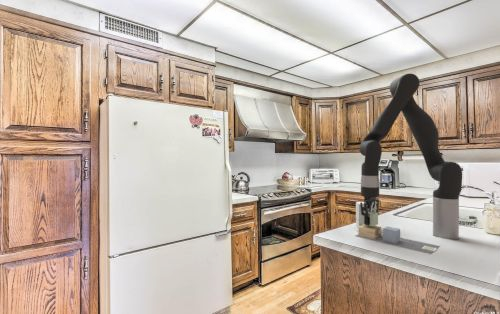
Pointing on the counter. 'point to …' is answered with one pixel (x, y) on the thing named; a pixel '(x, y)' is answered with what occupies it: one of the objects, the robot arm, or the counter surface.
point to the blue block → (391, 234)
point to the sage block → (372, 219)
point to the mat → (405, 244)
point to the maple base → (370, 231)
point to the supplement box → (358, 215)
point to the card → (429, 248)
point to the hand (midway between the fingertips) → (369, 223)
